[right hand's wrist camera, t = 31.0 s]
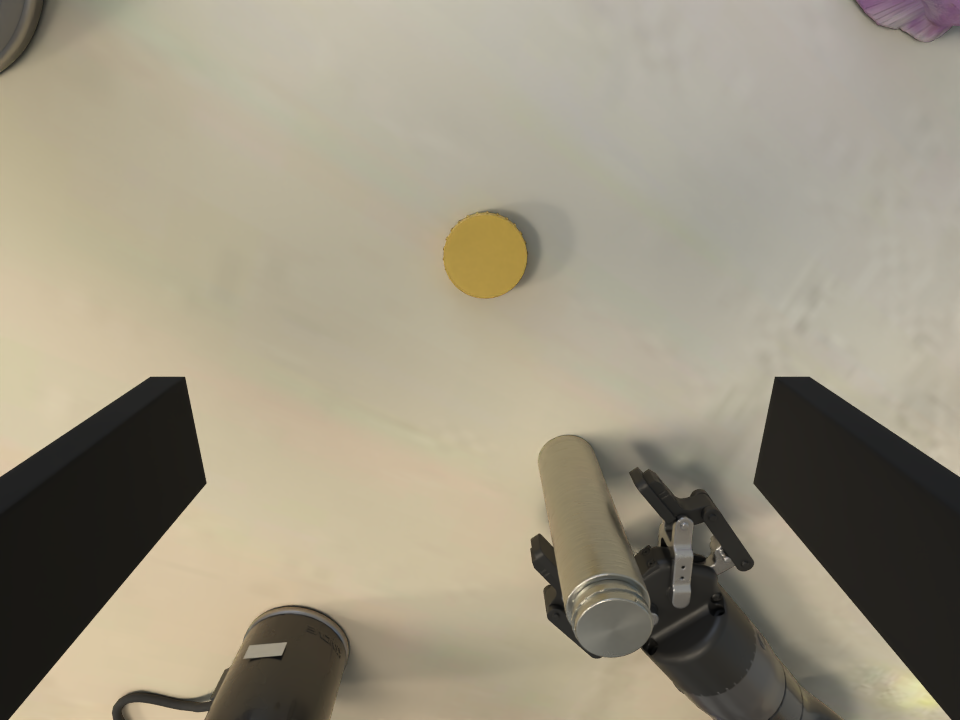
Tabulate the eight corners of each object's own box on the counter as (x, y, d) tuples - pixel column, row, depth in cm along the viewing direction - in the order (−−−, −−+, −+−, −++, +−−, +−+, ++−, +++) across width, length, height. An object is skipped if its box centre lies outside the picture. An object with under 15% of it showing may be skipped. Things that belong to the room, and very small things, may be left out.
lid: (541, 266, 38) (543, 271, 36) (472, 308, 39) (471, 314, 38) (499, 194, 36) (500, 196, 35) (428, 240, 37) (425, 243, 36)
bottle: (568, 494, 44) (615, 675, 29) (526, 464, 43) (550, 635, 28) (606, 456, 43) (677, 623, 28) (563, 424, 42) (611, 579, 27)
